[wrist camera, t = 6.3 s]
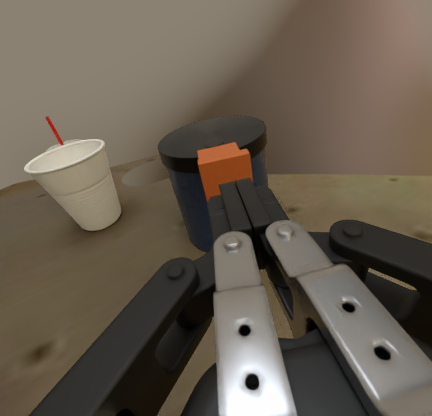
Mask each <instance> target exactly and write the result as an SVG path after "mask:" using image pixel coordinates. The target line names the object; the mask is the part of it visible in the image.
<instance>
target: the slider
mask: <svg viewBox="0 0 432 416" xmlns="http://www.w3.org/2000/svg"><path fill="white" fill-rule="evenodd" d="M197 153H198V160H197V162H198V167H199V171H200V175H201V179H202V183H203V187H204V191H205V195H206V199H207V203H208V201H209V199H210V197H212V196H217V195H221V194H220V189H219V184H223V183H227V182H232V181H234V183H235V181H236V180H241V179H245V178H250V179H251V180H252V182H253V178H252V168H251V159H250V153H249V151H248V150H247V149H243V150H239V148H238V146H237V144H236V143H235V142H234V143H229V144H225V145H220V146H216V147H212V148H207V149H203V150H198V151H197Z"/></svg>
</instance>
